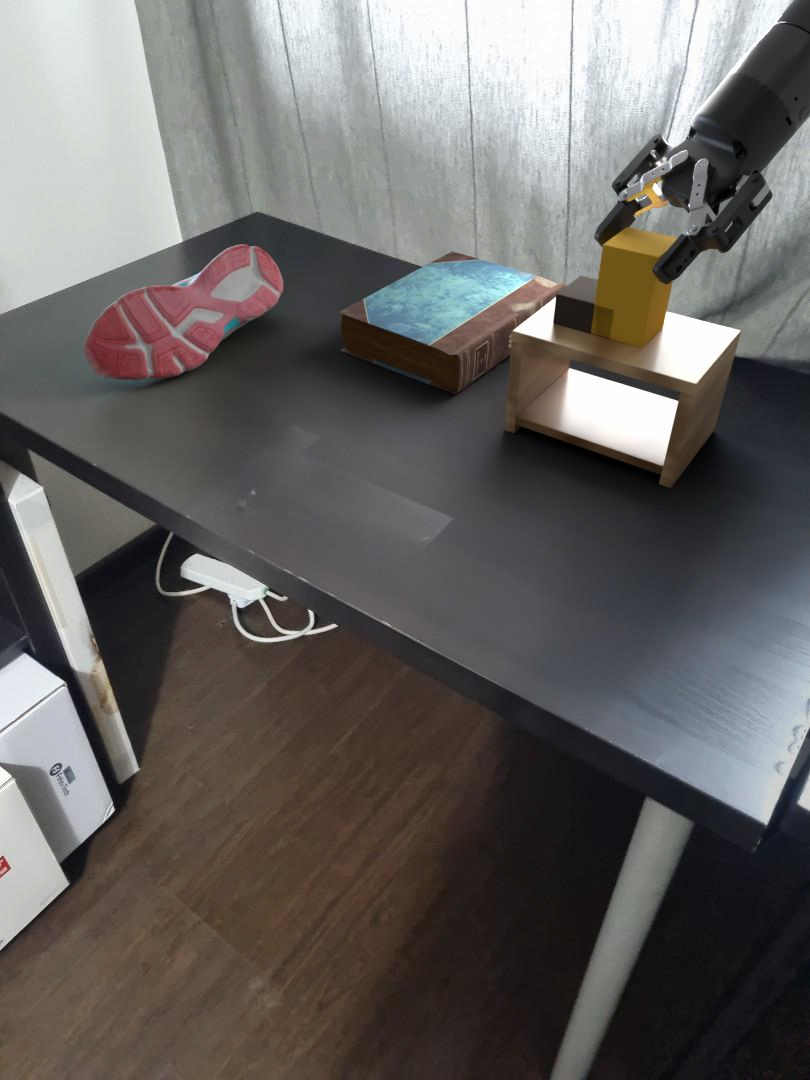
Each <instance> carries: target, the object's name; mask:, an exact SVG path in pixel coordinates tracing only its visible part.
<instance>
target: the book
mask: <svg viewBox="0 0 810 1080" xmlns="http://www.w3.org/2000/svg"><path fill="white" fill-rule="evenodd" d="M566 286H567V285H566V283H565V282H559V283H557V282H554V281H553V280H550V279H548V278H545V277H542V276H539V275H537V274H536V275H535V274H532V273H530V272H526V271H523V270H519V269H515V268H513V267H509V266H505V265H502V264H499V263H495V262H491V261H488V260H485V259H482V258H477V257H475V256H470V255H467V254H463V253H459V252H457V251H450V252H448V253H446V254H444V255H442V256H441V257H439V258H437V259H435V260H433V261H431V262H429V263H427V264H426V265H424V266H421V267H420V268H418V269H416V270H414V271H412V272H411V273H409V274H406V275H405V276H403V277H402V278H399V279H397V280H396V281H394V282H392V283H390V284H388V285H386V286H385V287H383V288H381V289H379V290H377V291H375V292H373V293H372V294H370V295H368V296H366V297H364V298H362V299H360V300H358V301H357V302H354V303H353V304H351V305H349V306H348V307H345V308H344V309H342V310H340V311H338V312H337V313H338V314H339V315H341V321H340V322H341V323H340V333H341V334H340V335H341V338H342V341H343V345H344V348H342V349H341V350H340V351H341V352H342V353H345V354H347V355H350V356H353V357H355V358H358V359H360V360H363V361H366V362H368V363H371V364H373V365H376V366H379V367H381V368H384V369H387V370H389V371H391V372H395V373H398V374H400V375H403V376H405V377H408V378H411V379H412V380H413V379H414V380H416V381H418V382H421V383H424V384H426V385H429V386H431V387H435V388H437V389H440V390H443V391H447V392H449V393H451V394H453V395H457V394H458V393H460V392H461V391H463V390H465V388H467V387H468V386H470V385H471V384H472V383H474V382H475V381H477V380H478V379H480V377H482V376H484V375H486V374H487V372H489V371H491V370H492V369H493V368H495V367H496V366H497V365H499V364H500V363H502V362H503V361H505V360H506V359H507V358H510V355H511V343H512V331H513V330H514V329H516V328H517V327H518V326H519V325H521V324H522V323H523V322H525V321H526V320H527V319H528V318H530V317H531V316H532V315H534V314H535V313H536V312H537V311H539V310H540V309H541V308H543V307H544V306H545V305H546V304H548V303H549V302H550V301H552V300H553V299H554V298H555V297H556V294H557V293H558V292H560V291H561V290H562V289H564V288H565V287H566Z"/></svg>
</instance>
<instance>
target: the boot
mask: <svg viewBox="0 0 810 1080" xmlns="http://www.w3.org/2000/svg"><path fill="white" fill-rule="evenodd" d="M677 238H678V237H677V236H672V235H668V234H663V233H658V232H654V231H648V230H643V229H639V228H635V227H631V226H630V227H626V228H625V229H624V230H622V231H621V232H620V233H618V234H617V235H616V236H614V237H613V238H611V239H610V240H609V241H607V242H606V243H605V244H603V247H601V257H600V262H599V270H598V276H597V278H594V277H589V276H585V275H579V276H578V277H576V278H575V279H574V280H573V281H571V282H570V283H569V284H567V285H566V287H565V288H564V289H562V290H561V291H560V292H558V293H557V294H556V301H555V310H554V319H553V323H554V324H557V325H561V326H565V327H568V328H572V329H575V330H579V331H582V332H586V333H590V334H593V335H597V336H600V337H604V338H607V339H611V340H615V341H618V342H622V343H625V344H629V345H632V346H636V347H640V348H642V347H643V346H644V345H645V344H646V343H647V342H648V341H649V340H650V339H651V338H652V337H653V336H654V335H655V334H656V333H657V332H658V331H659V330H660V329H662V328H663V326H664V321H665V317H666V312H668V307H669V302H670V297H671V292H672V288H673V282H674V281H673V280H672V281H671V283H669V284H667V285H666V284H664V283H662V282H660V281H659V280H658V278H657V277H656V276H655V275H654V273H653V272H652V269H653V266H654V265H655V264H656V263H657V261H658V260H659V259H660V258H661V257H662V256H663V254H664V253H665V252H666V251H667V250H668V249H669V248H670V246H671V245H672V244H673V243H674V242H675V241H676V239H677Z"/></svg>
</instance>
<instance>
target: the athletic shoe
mask: <svg viewBox="0 0 810 1080" xmlns="http://www.w3.org/2000/svg"><path fill="white" fill-rule="evenodd" d="M283 292H284V280H283V276H282V274H281V271H280V268H279V266H278V264H277V263H276V262H275V260H274V259H273V258H272V257H271V255H270V254H269V253H268V252H266V251H265V250H264V249H262V248H261V247H259V246H257V245H253V246H250V245H248V244H243V243H241V244H236V245H233V246H229V247H227V248H225V249H224V250H223V251H222V252H221V251H220V253H219V254H218V255H216V256H215V257H214V258H213V259H211V260H210V262H209V263H208V264H207V265H205V267H204V268H203V269H202V270H201V271H200V272H199V273H196V274H194V275H192V276H190V277H188V278H185V279H183V280H180V281H178V282H176V283H173V284H172V285H162V284H157V285H156V284H155V285H148V286H143V287H141V288H136V289H134V290H131V291H129V292H126V293H124V294H123V295H122V296H120V297H118V298H117V299H116V300H115V301H114V302H112V303H111V304H110V305H108V306H107V307H105V309H103V311H102V312H101V313H100V314H99V315H98V316H97V318H95V319H94V320H93V323H92V324H91V325H90V328H89V331H88V333H87V335H86V339H85V342H84V346H83V352H84V356H85V358H86V362H87V363H88V364H89V365H90V367H91V368H92V370H93V372H94V373H95V374H96V375H97V376H98V377H99V378H101V379H104V380H105V379H112V380H113V379H114V380H119V381H134V382H135V381H147V380H161V379H162V380H163V379H168V378H172V377H177V376H180V375H181V374H183V373H185V372H190V371H193V370H195V369H197V368H199V367H201V365H203V364H204V363H205V362H206V361H207V360H208V358H209V356H210V355H211V354H212V353H213V352H214V351H215V350H216V348H218V346H219V345H220V343H221V342H223V341H224V340H225V339H227V338H228V337H229V336H230V335H231V334H232V333H234V332H235V331H236V330H237V329H239V328H242V327H244V326H245V325H247V324H248V323H250V322H251V321H254V320H256V319H257V318H260V317H262V316H263V315H264V314H265V313H266V312H268V311H269V310H271V309H272V308H273V307H275V306H276V304H277V303H279V299H280V297H281V296H282V294H283Z"/></svg>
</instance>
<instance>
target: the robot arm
mask: <svg viewBox="0 0 810 1080" xmlns="http://www.w3.org/2000/svg"><path fill="white" fill-rule="evenodd" d="M809 118H810V0H792V2H791V3H790V4H789V5H788V7H786V9H785V10H784V11H783V12H782V13H781V15H780V16H779V17H778V18H777V20H776V21H775V22H774V23H773V24H772V25H771V27H770V28H769V29H768V30H767V31H766V32H765V33H764V34H763V35H762V36H761V37H760V38H759V39H758V40H757V41H756V42H755V43H754V44H753V45H752V46H751V47H750V48H749V49H748V50H747V51H746V52H745V53H744V55H743V56H742V57H741V58H740V59H739V61H738V62H737V63H736V64H735V65H734V67H732V69H731V70H730V71H729V72H728V74H727V75H726V76H725V78H724V79H723V80H722V81H721V82H720V83H719V85H717V87H716V88H715V89H714V91H713V92H712V93H711V94H710V96H709V97H708V98H707V99H706V100H705V101H704V103H703V104H702V105H701V106H700V108H698V110H697V111H696V112H695V114H694V115H693V116H692V118H691V121H690V126H689V127H690V128H689V131H688V135H687V136H686V137H685V139H683V140H682V141H681V142H679V143H678V144H676V145H675V146H674V145H672V144H670V143H668V142H667V140H666V139H665V138H664V136H663V134H661V133H657V134H655V135H653V136H652V137H651V138H650V139H649V140H648V141H647V143H646V144H644V146H643V147H642V148H641V149H640V150H639V152H638V153H637V154H636V155H635V156H634V157H633V158H632V160H631V161H630V162H629V163H628V164H627V165H626V166H625V167H624V169H623V170H622V171H621V172H620V173H619V174H618V175H617V177H616V178H615V179H614V180H613V181H612V183H611V188H612V190H613V191H614V193H615V194H616V196H617V202H616V203H615V206H614V207H613V208H612V209H611V210H610V211H609V212H608V214H606V216H605V217H604V219H602V221H601V222H600V223H599V224H598V226H597V228H596V230H595V232H594V235H593V238H594V240H595V241H596V242H597V244H598V245H599V246H600V247H601V248H603V244H605V243H606V242H607V241H609V240H610V239H611V238H613V237H614V236H616V235H617V234H618V233H620V232H621V231H622V230H624V229H625V228H626V227H630V228H631V226H632V225H633V224H634V223H635V221H636V220H637V218H636V217H638V216H639V215H642V214H644V213H646V212H647V211H650V210H651V209H653V208H655V209H662V208H664V207H667V206H669V205H671V206H673V207H675V208H679V209H684V210H685V211H686V212H687V213H688V214H689V218H688V223H687V228H686V234H683V233H680V235H679V236H678V237H677V239H676V241H675V242H674V243H673V244H672V245H671V246H670V248H669V249H668V250H667V251H666V252H665V253H664V254H663V256H662V257H661V258H660V259H659V260H658V261H657V263H656V264H655V265H654V266H653V269H652V272H653V273H654V275H655V276H656V277H657V278H658V280H659V281H660V282H662V283H664V284H666V285H667V284H669V283H671V281H672V280H673V282H674V281H675V280H677V279H679V278H680V277H681V276H682V274H683V273H684V272H685V271H686V270H687V268H688V267H689V266H691V264H692V263H693V262H694V261H695V259H696V258H697V257H698V256H699V255H700V254H701V253H704V252H707V251H709V250H717V251H718V252H719V253H720V254H725V253H728V252H729V251H731V250H732V248H733V247H734V245H736V243H737V242H738V241H739V240H740V238H742V236H743V235H744V233H746V231H747V230H748V228H749V227H750V226H751V225H752V223H753V222H754V221H755V220H756V218H758V216H759V215H760V213H761V212H762V211H763V210H764V209H765V207H767V205H768V204H769V203H770V201H771V200H772V199H773V195H774V194H773V192H772V190H771V188H770V186H769V184H768V181H767V180H766V179H765V178H764V176H763V174H762V172H763V171H764V170H765V169H766V167H767V166H768V165H769V164H770V163H771V162H772V161H773V159H774V158H775V157H776V156H777V155H778V154H779V153H780V151H781V150H782V149H783V148H784V147H785V146H786V144H788V142H789V141H790V140H791V139H792V138H793V136H794V135H795V134H796V133H797V132H798V130H800V129H801V127H802V126H803V125H804V124H805V123H806V122H807V120H808V119H809ZM636 176H637V177H636ZM634 177H636V180H635V181H633V183H632V184H631V185H630V186H629V183H630V182H631V181H632V180H633V178H634ZM659 182H660V188H659V187H658V185H657V183H659ZM643 195H646V196H645V197H642V198H641V199H638V198H639V197H641V196H643ZM729 199H730V200H729ZM728 200H729V201H728ZM726 201H728V203H727V204H726V205H725V207H723V206H724V202H726Z"/></svg>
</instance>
